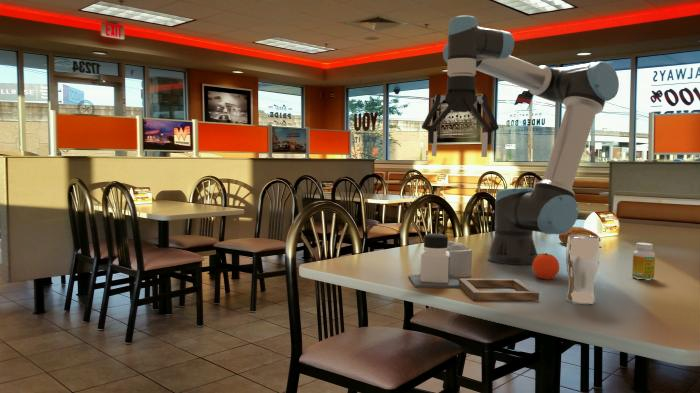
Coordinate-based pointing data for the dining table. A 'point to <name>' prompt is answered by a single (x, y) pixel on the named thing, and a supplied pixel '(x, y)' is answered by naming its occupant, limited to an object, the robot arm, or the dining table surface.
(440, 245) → the medicine bottle
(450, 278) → the mat
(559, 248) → the dining table surface
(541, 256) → the clementine
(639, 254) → the supplement bottle
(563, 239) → the croissant
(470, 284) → the pocket
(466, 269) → the lumpy-topped squat cylinder
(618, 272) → the dining table surface
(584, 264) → the beer glass
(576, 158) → the robot arm
